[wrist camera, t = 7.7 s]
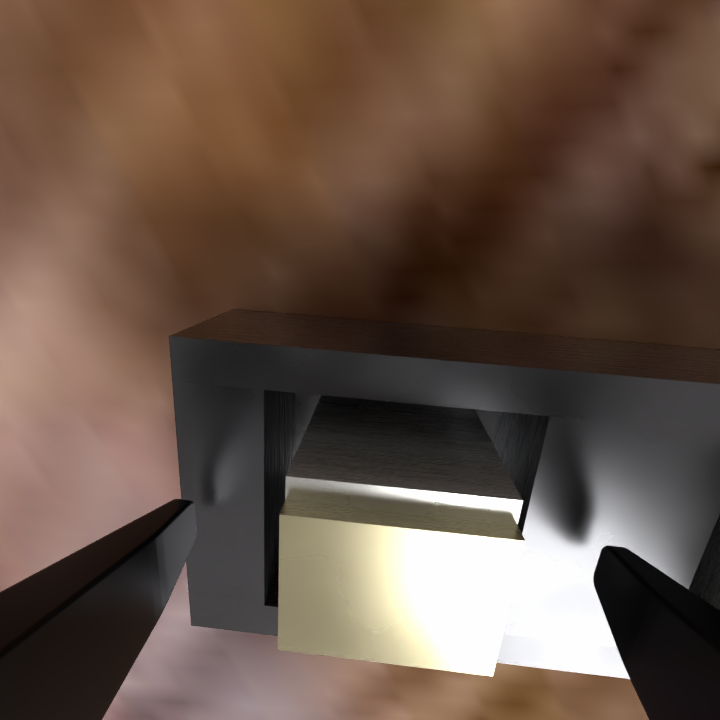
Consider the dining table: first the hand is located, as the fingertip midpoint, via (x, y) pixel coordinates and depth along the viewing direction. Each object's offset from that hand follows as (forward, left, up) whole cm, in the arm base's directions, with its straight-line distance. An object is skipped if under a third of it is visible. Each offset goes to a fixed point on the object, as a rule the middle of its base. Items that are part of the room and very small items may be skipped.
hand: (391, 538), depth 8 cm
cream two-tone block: (0, 0, -4) cm, 4 cm away
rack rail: (-5, 0, -4) cm, 6 cm away
